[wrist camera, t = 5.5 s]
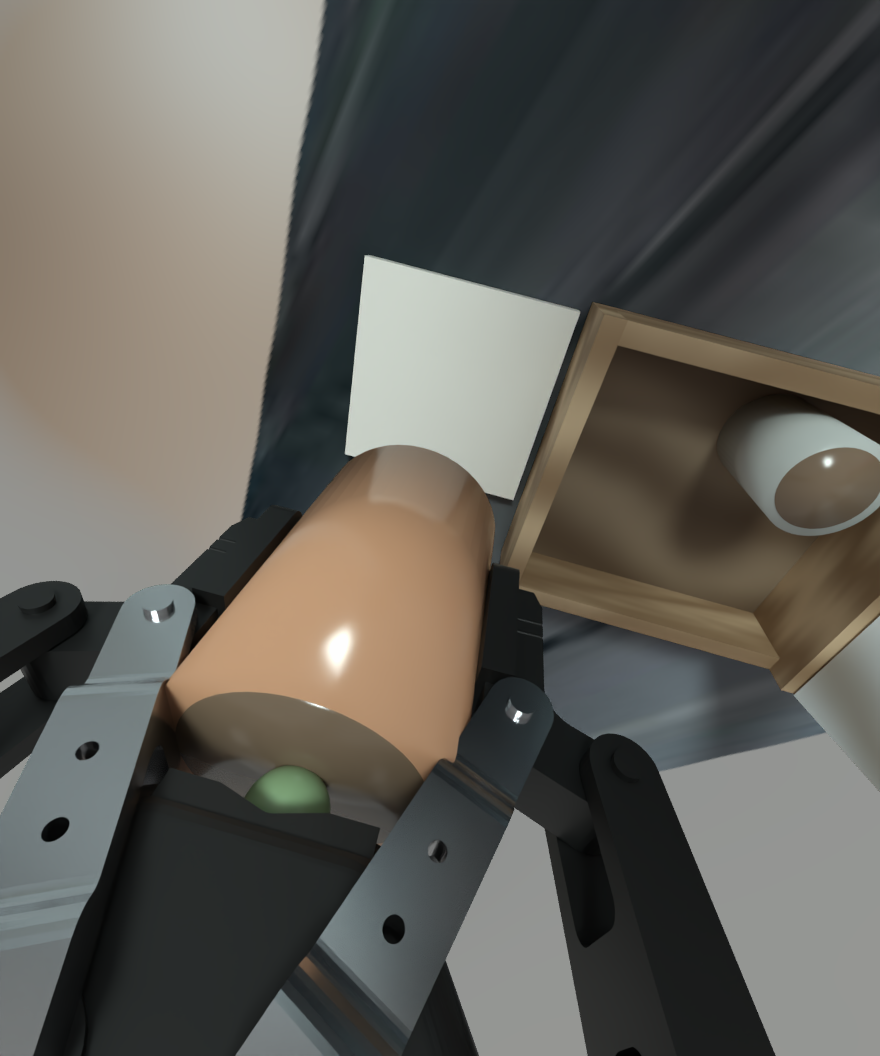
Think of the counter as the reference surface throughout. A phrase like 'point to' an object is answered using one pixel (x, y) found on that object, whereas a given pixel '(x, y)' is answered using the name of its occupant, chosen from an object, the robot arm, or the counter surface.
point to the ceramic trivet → (454, 369)
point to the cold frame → (702, 517)
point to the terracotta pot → (347, 646)
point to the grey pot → (801, 465)
